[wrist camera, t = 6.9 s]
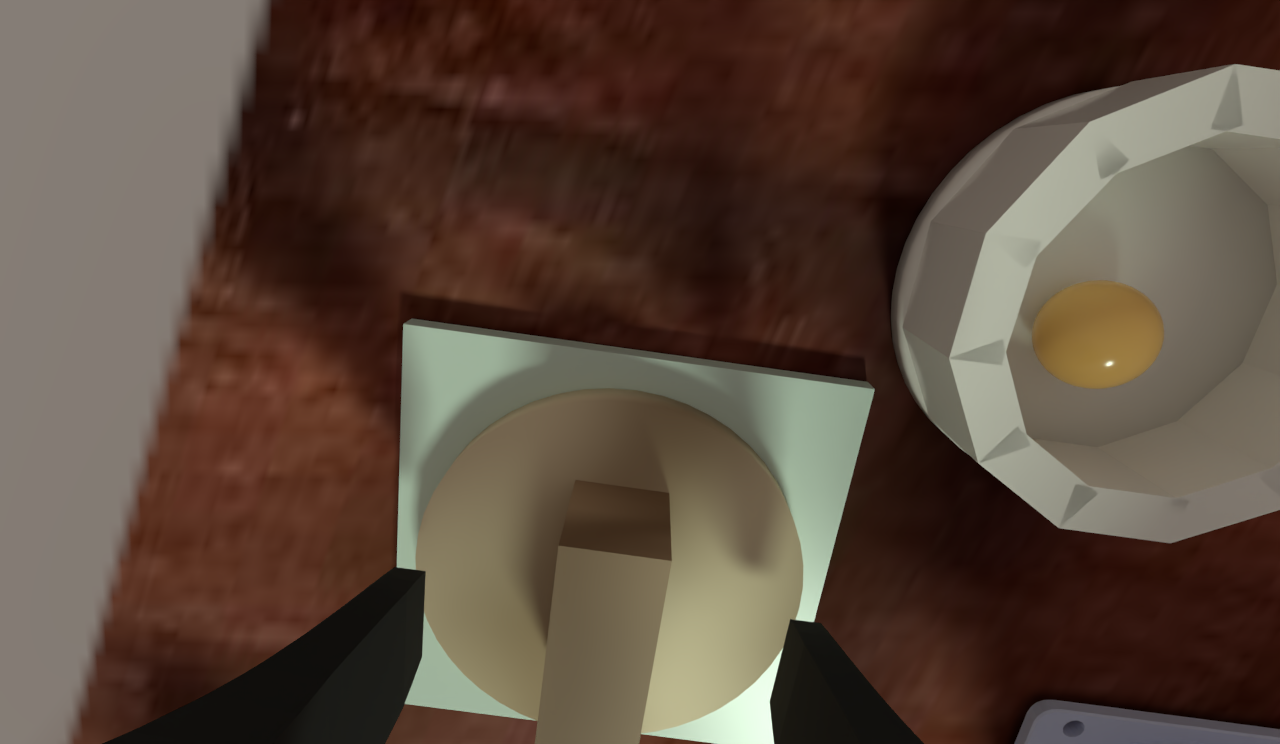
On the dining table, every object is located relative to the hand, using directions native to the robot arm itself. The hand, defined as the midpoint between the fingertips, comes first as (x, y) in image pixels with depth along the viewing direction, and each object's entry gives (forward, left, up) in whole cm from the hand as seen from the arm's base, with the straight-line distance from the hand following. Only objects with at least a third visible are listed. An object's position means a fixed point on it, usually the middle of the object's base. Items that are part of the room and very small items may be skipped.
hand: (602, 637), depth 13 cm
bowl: (-9, -8, -3) cm, 12 cm away
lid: (0, 0, -3) cm, 3 cm away
